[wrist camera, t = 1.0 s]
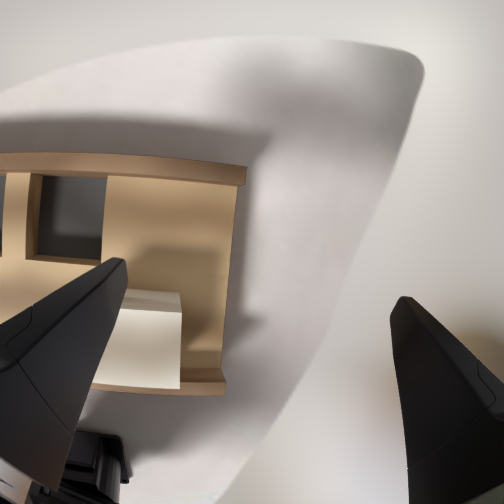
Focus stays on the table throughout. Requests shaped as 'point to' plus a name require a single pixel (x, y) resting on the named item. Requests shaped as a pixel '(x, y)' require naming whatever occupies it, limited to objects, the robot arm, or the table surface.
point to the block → (144, 342)
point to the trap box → (124, 239)
